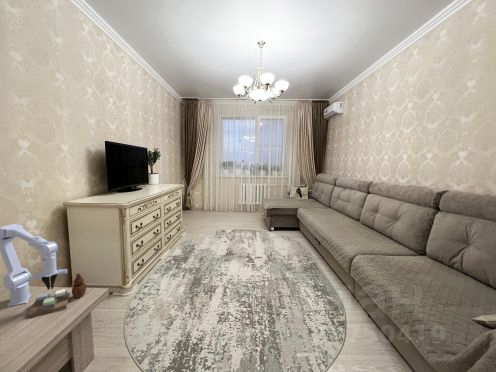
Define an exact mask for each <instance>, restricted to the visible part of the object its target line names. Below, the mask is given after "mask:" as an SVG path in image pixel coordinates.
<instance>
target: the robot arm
mask: <svg viewBox="0 0 496 372" xmlns="http://www.w3.org/2000/svg"><path fill="white" fill-rule="evenodd" d="M15 238H18V239H20V240H24V241H26V242H27V243H28V244H27V245H28V246H30V247H31V248H32V249H34V250H37V252H38V254H39V256H40V259H41V267H42V272H40V273H39V272H38V273H35V274H32V273H30V271H29V269H28V268H25V267H22V265H21V263H20V260H19V256H18V255H17V251H16V250H15V247H14V244H13V241H14V239H15ZM58 250H59V244H58V243H57V242H56V241H49V240H47V239H45V238H43V237H41V236H40V235H36V236H34V235H33V234H31V233H30V232H28V231H27V230H25V228H24V226H23V224H21V223H18V222H15V223H12V224H8V225H7V224H6V225H3V226H2V225H1V226H0V255H1V257H2V260H3V262H4V266H5V268H6V271H7V273H6V274H5V275H4V276H3V277H2V280H3V287H4V288H5V289H6V290H7V291H8V292H9V303H8V304H7V306H6V307H7V308H8V307H9V308H10V307H13V306H17V305H22V304H27V303H28V301H29V300H30V299H31V297H32V295H33V294H32V293H30V285H29V284H30V281H31V280H36V279H41V281H42V282H43V284H44V285H45V286H46V288H47V290H50V289H51V290H53V289H54V286H55V281H56V279H57V277H58V275H66V274H67V273H68V269H67V268H65V269H57V251H58Z"/></svg>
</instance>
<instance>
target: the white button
mask: <svg viewBox="0 0 496 372" xmlns="http://www.w3.org/2000/svg"><path fill="white" fill-rule="evenodd" d="M66 290H67V289H66V288H62V289H58V290H56V291H55V293H54V295H55V297H57V296H62V295H65V293H66Z"/></svg>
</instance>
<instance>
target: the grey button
mask: <svg viewBox="0 0 496 372" xmlns="http://www.w3.org/2000/svg"><path fill="white" fill-rule="evenodd" d="M49 294H50V293H49V292H45V293H39V294H38V295H37V297H36V299H37V301H39V300H44V299H47V298H48V297H49Z"/></svg>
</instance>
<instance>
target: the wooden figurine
mask: <svg viewBox="0 0 496 372" xmlns="http://www.w3.org/2000/svg"><path fill="white" fill-rule="evenodd" d="M75 276H76V277H75V279H74V280H73V286H72V288H71V295H72V297H73V298H75V299H80V298H82V297H83V296H85V294H86V291H87V284H86V283H85V278H84V277H83V276H81V274H80V273H76V274H75Z"/></svg>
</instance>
